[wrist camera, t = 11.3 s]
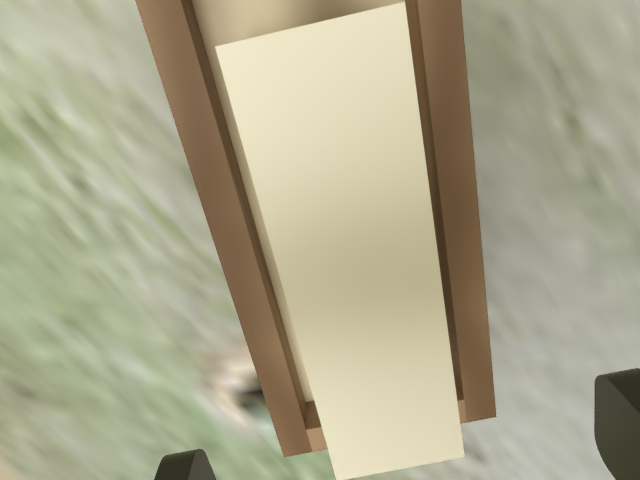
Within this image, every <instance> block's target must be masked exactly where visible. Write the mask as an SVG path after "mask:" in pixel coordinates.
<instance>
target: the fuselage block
mask: <svg viewBox="0 0 640 480" xmlns="http://www.w3.org/2000/svg"><path fill="white" fill-rule="evenodd" d="M215 49H216V52H217V56H218V60H219V63H220V67H221V70H222V74H223V77H224V81H225V84H226V88H227V92H228V95H229V99H230V102H231V106H232V109H233V113H234V116H235V120H236V124H237V127H238V131H239V134H240V138H241V141H242V145H243V149H244V152H245V156H246V159H247V163H248V166H249V170H250V173H251V177H252V181H253V184H254V188H255V191H256V195H257V198H258V202H259V205H260V209H261V213H262V216H263V220H264V223H265V227H266V230H267V234H268V238H269V241H270V245H271V248H272V252H273V255H274V259H275V262H276V266H277V270H278V273H279V277H280V280H281V284H282V287H283V291H284V295H285V298H286V302H287V305H288V309H289V312H290V316H291V319H292V323H293V327H294V330H295V334H296V337H297V341H298V344H299V348H300V351H301V355H302V359H303V362H304V366H305V369H306V373H307V376H308V380H309V384H310V387H311V391H312V394H313V398H314V401H315V405H316V408H317V412H318V416H319V419H320V423H321V426H322V430H323V433H324V437H325V440H326V444H327V448H328V451H329V455H330V458H331V462H332V465H333V469H334V473H335V476H336V480H346V479H351V478H356V477H361V476H367V475H372V474H377V473H383V472H388V471H393V470H398V469H404V468H409V467H414V466H419V465H425V464H430V463H435V462H440V461H446V460H451V459H456V458H461V457H465V456H464V449H463V441H462V433H461V426H460V418H459V411H458V403H457V395H456V388H455V380H454V373H453V365H452V357H451V350H450V342H449V334H448V327H447V319H446V312H445V304H444V296H443V289H442V281H441V274H440V266H439V258H438V251H437V243H436V235H435V228H434V220H433V213H432V205H431V197H430V190H429V182H428V175H427V167H426V159H425V152H424V144H423V136H422V129H421V121H420V114H419V106H418V98H417V91H416V83H415V76H414V68H413V60H412V53H411V45H410V37H409V30H408V22H407V15H406V7H405V2H401V3H397V4H393V5H389V6H384V7H380V8H376V9H372V10H368V11H363V12H359V13H355V14H351V15H346V16H342V17H338V18H334V19H330V20H325V21H321V22H317V23H313V24H308V25H304V26H300V27H296V28H291V29H287V30H283V31H279V32H275V33H270V34H266V35H262V36H258V37H253V38H249V39H245V40H241V41H237V42H232V43H228V44H224V45H220V46H215Z"/></svg>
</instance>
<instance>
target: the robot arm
mask: <svg viewBox="0 0 640 480" xmlns="http://www.w3.org/2000/svg"><path fill="white" fill-rule="evenodd" d="M594 432H595V440H596V444H597V447H598V450H599V453H600V455H601V457H602V459H603V461H604V463H605V465H606V466H607V468H608V469H609V471H610V472H611V474H612V475H613V476H614V478H615V479H616V480H640V369H639V368H636V369H630V370H625V371H620V372H614V373H609V374H604V375H599V376H597V377H596V380H595V427H594ZM154 480H216V478H215V475H214V473H213V470H212V468H211V465H210V463H209V460H208V458H207V456H206V453H205V452H204V451H203V450H202V449H197V450H191V451H186V452H181V453H175V454H170V455H166V456H164V457H163V458H162V460H161V462H160V465H159V468H158V470H157V473H156V476H155V479H154Z"/></svg>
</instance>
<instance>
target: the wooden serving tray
mask: <svg viewBox="0 0 640 480" xmlns="http://www.w3.org/2000/svg"><path fill="white" fill-rule="evenodd" d="M135 1H136V4H137V7H138V10H139V13H140V16H141V19H142V22H143V25H144V28H145V31H146V34H147V38H148V41H149V44H150V47H151V50H152V53H153V56H154V59H155V62H156V65H157V68H158V71H159V74H160V77H161V81H162V84H163V87H164V90H165V93H166V96H167V99H168V102H169V105H170V108H171V111H172V114H173V117H174V120H175V124H176V127H177V130H178V133H179V136H180V139H181V142H182V145H183V148H184V151H185V154H186V157H187V160H188V164H189V167H190V170H191V173H192V176H193V179H194V182H195V185H196V188H197V191H198V194H199V197H200V200H201V203H202V207H203V210H204V213H205V216H206V219H207V222H208V225H209V228H210V231H211V234H212V237H213V240H214V243H215V247H216V250H217V253H218V256H219V259H220V262H221V265H222V268H223V271H224V274H225V277H226V280H227V283H228V286H229V290H230V293H231V296H232V299H233V302H234V305H235V308H236V311H237V314H238V317H239V320H240V323H241V326H242V329H243V333H244V336H245V339H246V342H247V345H248V348H249V351H250V354H251V357H252V360H253V363H254V366H255V369H256V373H257V376H258V379H259V382H260V385H261V388H262V391H263V394H264V397H265V400H266V403H267V406H268V409H269V412H270V416H271V419H272V422H273V425H274V428H275V431H276V434H277V437H278V440H279V443H280V446H281V449H282V452H283V455H284V457H287V456H293V455H298V454H303V453H308V452H314V451H319V450H324V449H328V448H327V444H326V440H325V437H324V433H323V430H322V426H321V423H320V419H319V416H318V412H317V408H316V405H315V401H314V398H313V394H312V391H311V387H310V384H309V380H308V376H307V373H306V369H305V366H304V362H303V359H302V355H301V351H300V348H299V344H298V341H297V337H296V334H295V330H294V327H293V323H292V319H291V316H290V312H289V309H288V305H287V302H286V298H285V295H284V291H283V287H282V284H281V280H280V277H279V273H278V270H277V266H276V262H275V259H274V255H273V252H272V248H271V245H270V241H269V238H268V234H267V230H266V227H265V223H264V220H263V216H262V213H261V209H260V205H259V202H258V198H257V195H256V191H255V188H254V184H253V181H252V177H251V173H250V170H249V166H248V163H247V159H246V156H245V152H244V149H243V145H242V141H241V138H240V134H239V131H238V127H237V124H236V120H235V116H234V113H233V109H232V106H231V102H230V99H229V95H228V92H227V88H226V84H225V81H224V77H223V74H222V70H221V67H220V63H219V60H218V56H217V52H216V49H215V46H220V45H224V44H228V43H232V42H237V41H241V40H245V39H249V38H253V37H258V36H262V35H266V34H270V33H275V32H279V31H283V30H287V29H291V28H296V27H300V26H304V25H308V24H313V23H317V22H321V21H325V20H330V19H334V18H338V17H342V16H346V15H351V14H355V13H359V12H363V11H368V10H372V9H376V8H380V7H384V6H389V5H393V4H397V3H401V2H405V7H406V15H407V22H408V30H409V37H410V45H411V53H412V60H413V68H414V76H415V83H416V91H417V98H418V106H419V114H420V121H421V129H422V136H423V144H424V152H425V159H426V167H427V175H428V182H429V190H430V197H431V205H432V213H433V220H434V228H435V235H436V243H437V251H438V258H439V266H440V274H441V281H442V289H443V296H444V304H445V312H446V319H447V327H448V334H449V342H450V350H451V357H452V365H453V373H454V380H455V388H456V395H457V403H458V411H459V418H460V424H461V423H466V422H471V421H477V420H482V419H487V418H493V417H496V408H495V396H494V384H493V372H492V361H491V349H490V337H489V326H488V314H487V302H486V291H485V279H484V267H483V256H482V244H481V232H480V221H479V209H478V197H477V186H476V174H475V162H474V150H473V139H472V127H471V115H470V104H469V92H468V80H467V69H466V57H465V45H464V34H463V22H462V10H461V0H135Z"/></svg>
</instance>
